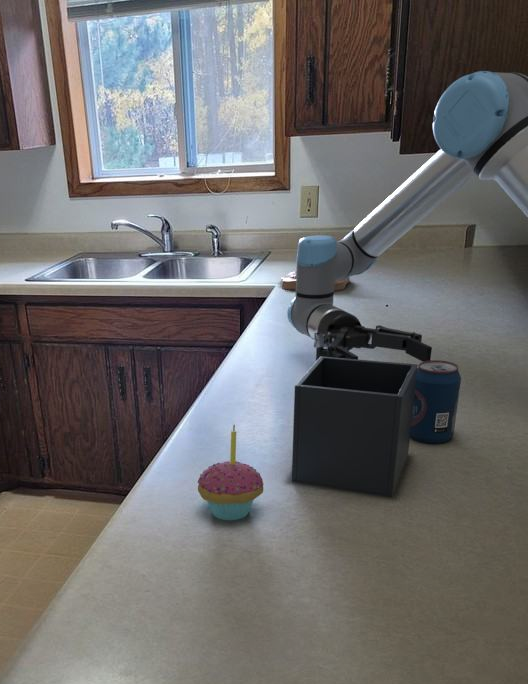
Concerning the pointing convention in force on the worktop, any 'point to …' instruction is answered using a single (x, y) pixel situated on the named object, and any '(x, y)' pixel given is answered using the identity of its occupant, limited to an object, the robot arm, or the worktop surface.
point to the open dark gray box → (353, 424)
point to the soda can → (435, 401)
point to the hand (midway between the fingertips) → (392, 360)
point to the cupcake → (230, 486)
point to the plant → (290, 282)
